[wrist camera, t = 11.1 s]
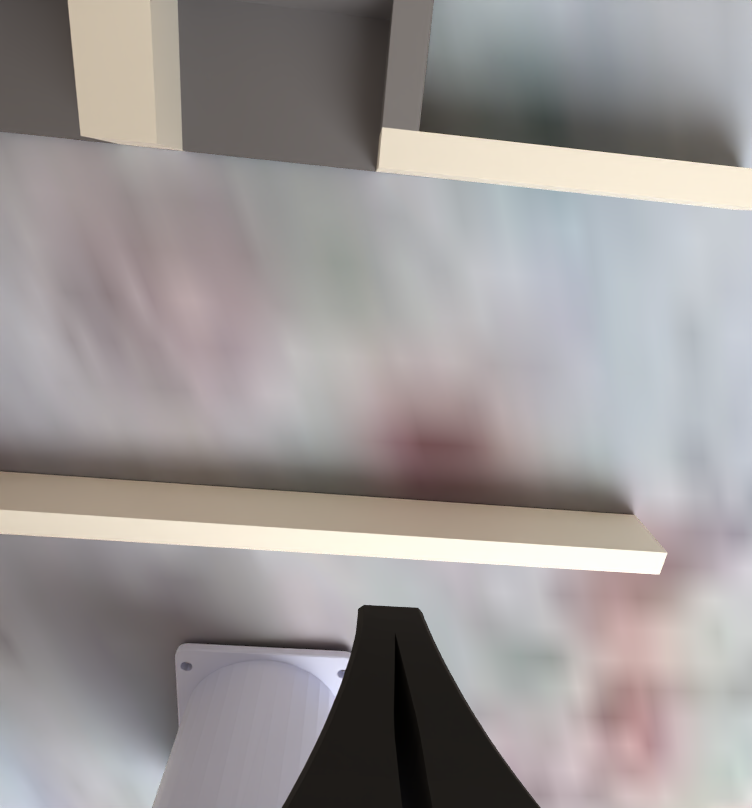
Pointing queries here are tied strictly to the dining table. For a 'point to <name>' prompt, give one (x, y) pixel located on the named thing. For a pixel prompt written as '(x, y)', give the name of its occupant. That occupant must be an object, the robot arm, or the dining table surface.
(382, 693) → the robot arm
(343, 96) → the trap lane
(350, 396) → the dining table surface
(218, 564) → the dining table surface
